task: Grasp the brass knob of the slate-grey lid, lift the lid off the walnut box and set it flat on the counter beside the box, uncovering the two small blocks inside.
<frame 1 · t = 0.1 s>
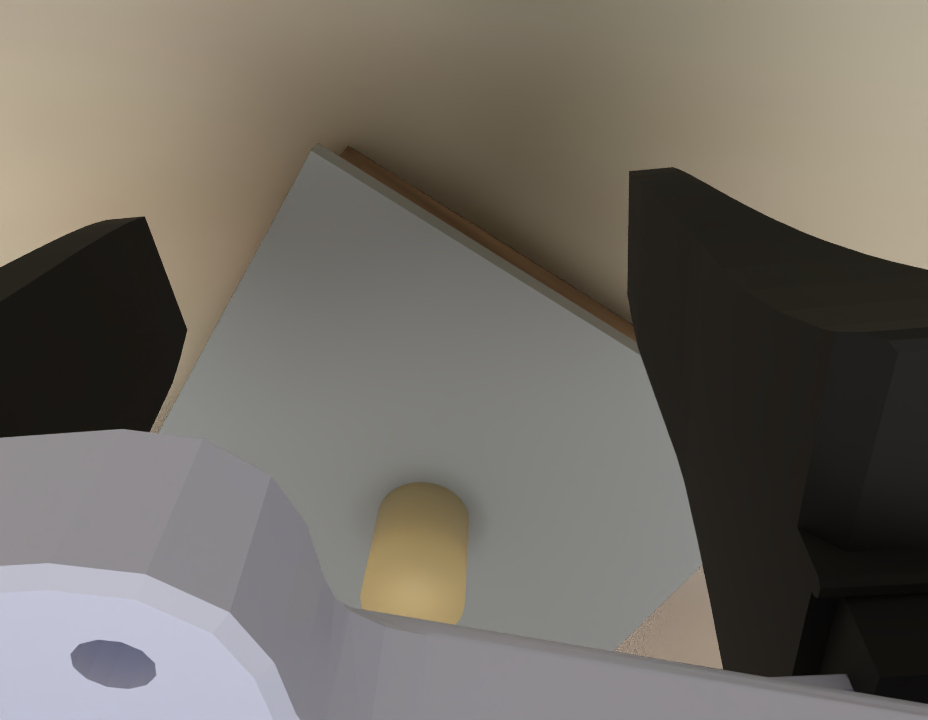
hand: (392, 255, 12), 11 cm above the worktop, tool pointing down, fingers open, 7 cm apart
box: (433, 446, 26), on the worktop
lid: (425, 502, 23), point 3 cm above the worktop, touching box
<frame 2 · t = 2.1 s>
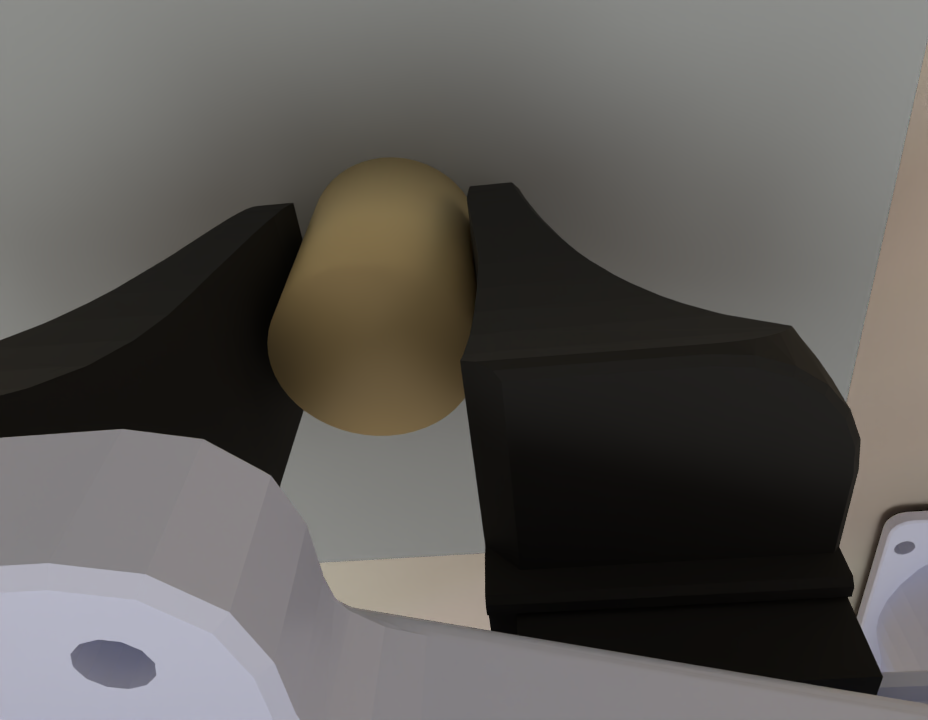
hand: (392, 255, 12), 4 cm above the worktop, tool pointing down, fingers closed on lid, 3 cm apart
lid: (400, 214, 13), point 3 cm above the worktop, touching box, gripper
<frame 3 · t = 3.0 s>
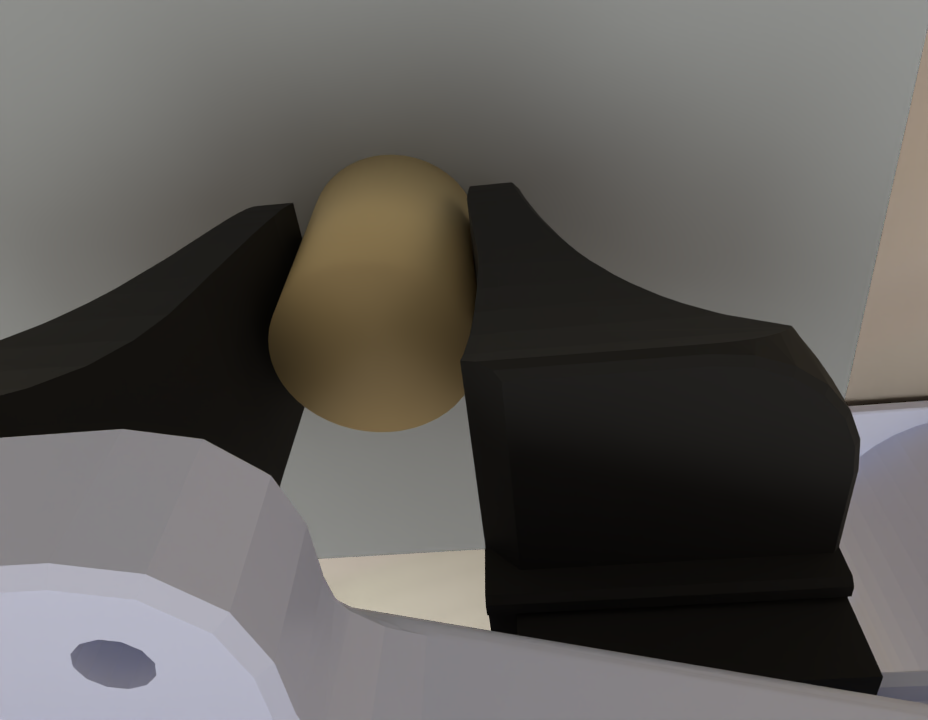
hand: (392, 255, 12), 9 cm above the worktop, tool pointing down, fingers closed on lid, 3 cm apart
lid: (400, 211, 13), point 7 cm above the worktop, touching gripper
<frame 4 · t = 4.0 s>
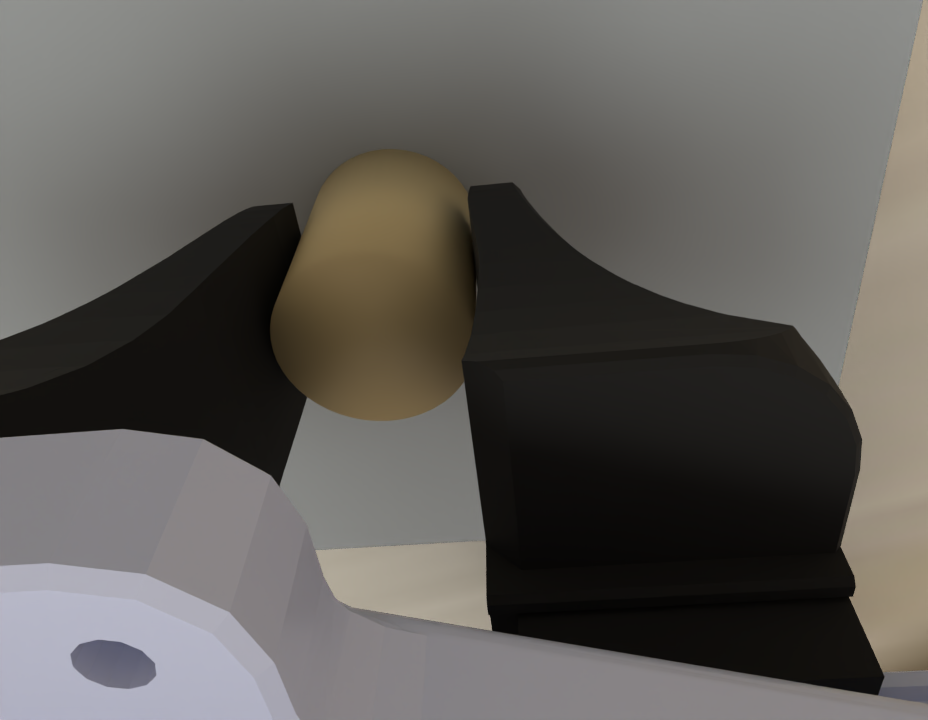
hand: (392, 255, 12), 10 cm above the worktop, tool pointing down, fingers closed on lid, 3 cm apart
lid: (399, 205, 13), point 9 cm above the worktop, touching gripper
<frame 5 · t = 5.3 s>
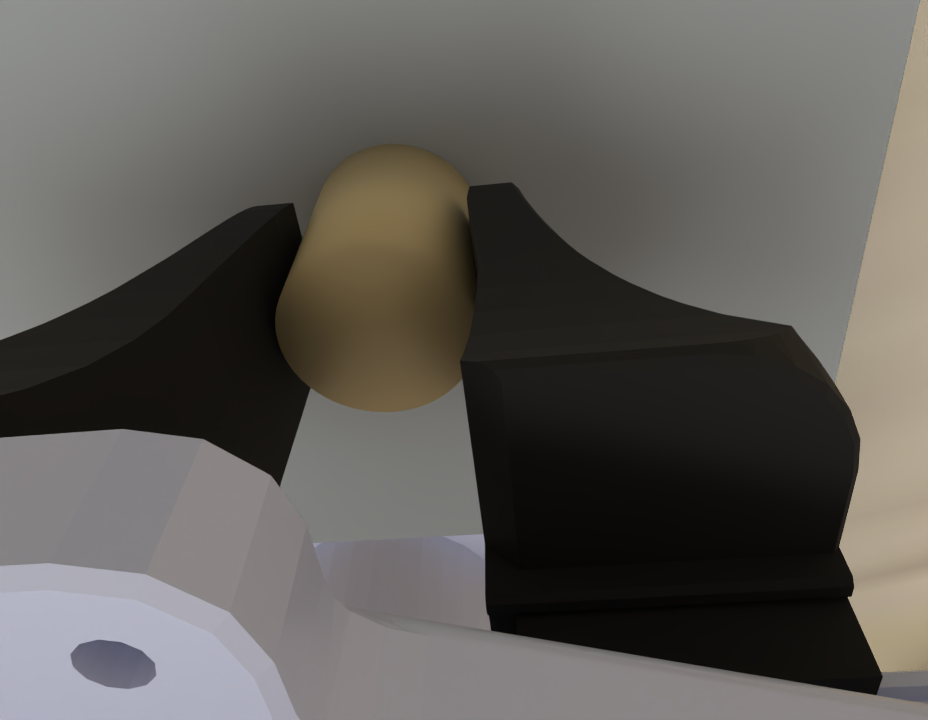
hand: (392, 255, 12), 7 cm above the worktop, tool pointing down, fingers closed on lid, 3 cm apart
lid: (402, 200, 13), point 5 cm above the worktop, touching gripper
when the fingers open (3 cm above the worktop, at t = 6.2 s): lid drops 2 cm, on the worktop.
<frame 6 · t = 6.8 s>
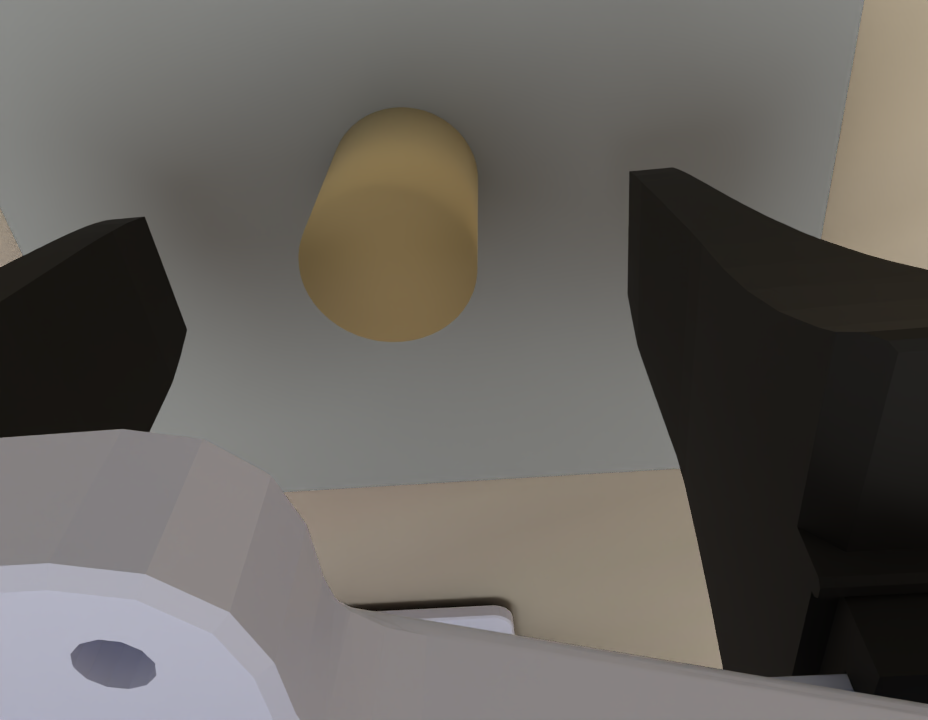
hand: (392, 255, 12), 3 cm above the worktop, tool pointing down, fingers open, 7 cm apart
lid: (408, 162, 15), on the worktop
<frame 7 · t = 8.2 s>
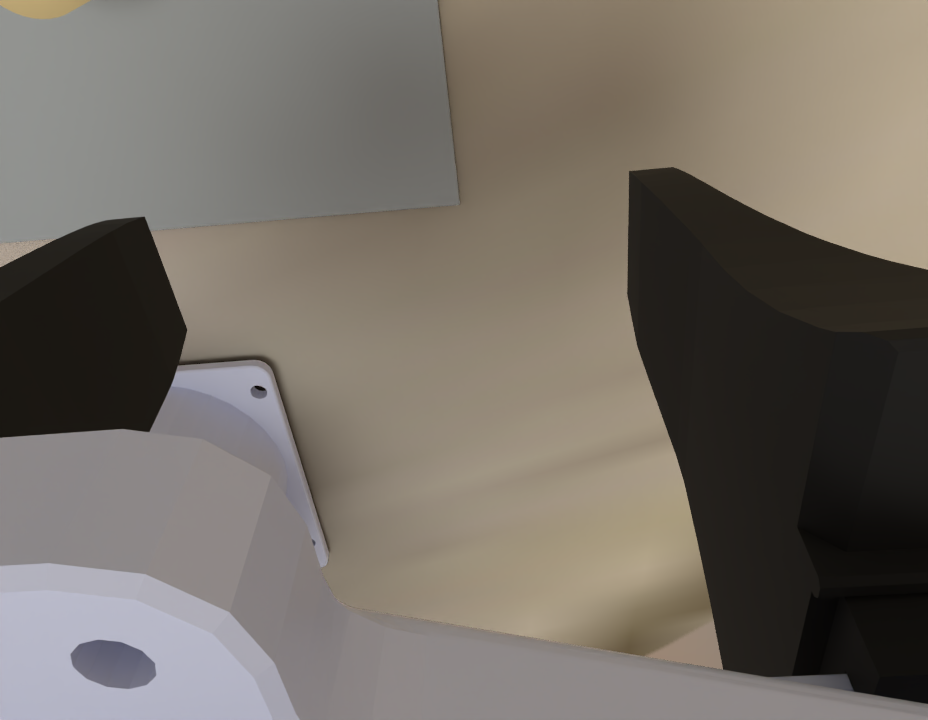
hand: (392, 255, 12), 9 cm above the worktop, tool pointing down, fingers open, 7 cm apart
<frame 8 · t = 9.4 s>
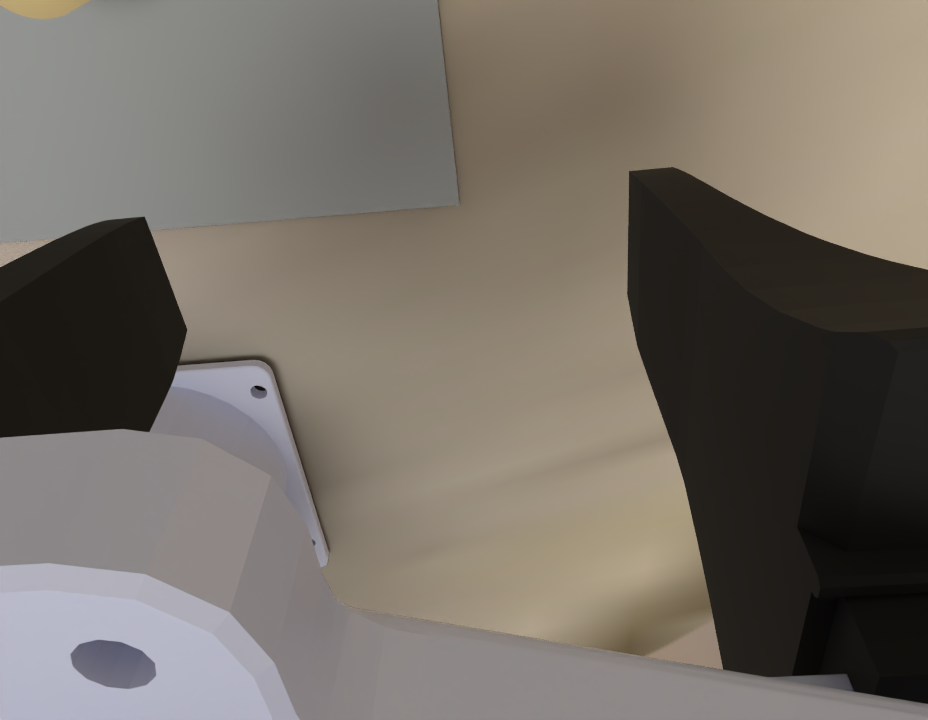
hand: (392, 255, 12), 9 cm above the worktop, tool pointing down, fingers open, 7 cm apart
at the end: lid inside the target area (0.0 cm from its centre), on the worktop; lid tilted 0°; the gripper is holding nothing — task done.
